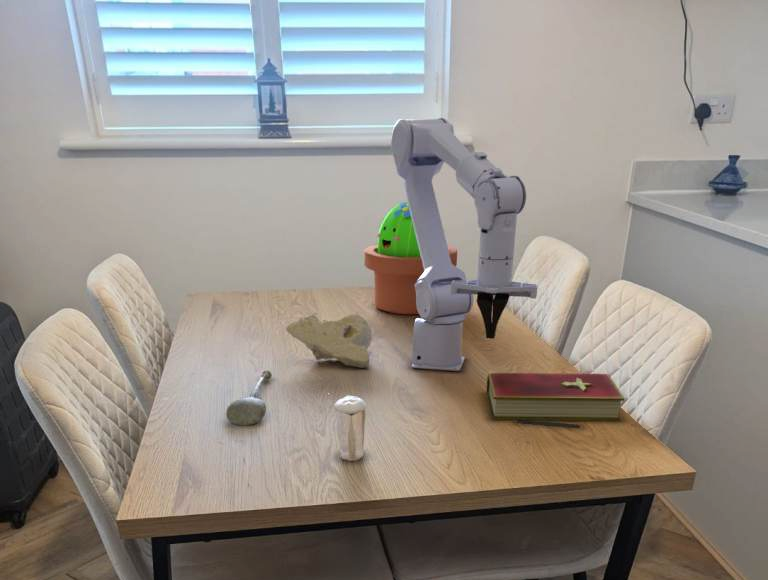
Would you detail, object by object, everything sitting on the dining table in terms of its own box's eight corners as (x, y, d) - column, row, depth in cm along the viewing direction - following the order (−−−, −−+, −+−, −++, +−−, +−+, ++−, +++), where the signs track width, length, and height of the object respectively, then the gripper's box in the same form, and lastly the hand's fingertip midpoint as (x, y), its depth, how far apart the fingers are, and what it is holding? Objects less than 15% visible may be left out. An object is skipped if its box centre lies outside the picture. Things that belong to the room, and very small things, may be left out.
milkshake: (330, 450, 108) (327, 388, 103) (366, 449, 109) (364, 386, 104) (331, 464, 105) (328, 399, 99) (368, 462, 105) (366, 398, 100)
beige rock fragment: (387, 368, 146) (352, 310, 149) (389, 351, 139) (352, 290, 142) (320, 401, 144) (286, 341, 147) (319, 385, 136) (283, 322, 140)
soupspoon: (222, 429, 117) (262, 431, 117) (220, 410, 115) (261, 412, 115) (251, 377, 136) (285, 379, 136) (249, 360, 134) (284, 362, 134)
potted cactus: (413, 291, 194) (415, 190, 181) (472, 306, 179) (477, 198, 166) (349, 304, 182) (345, 198, 169) (405, 323, 167) (406, 208, 154)
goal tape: (517, 422, 117) (517, 422, 117) (524, 384, 132) (524, 383, 132) (579, 428, 115) (579, 427, 115) (579, 388, 130) (579, 387, 130)
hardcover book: (486, 393, 129) (487, 370, 126) (604, 394, 128) (608, 371, 126) (492, 419, 118) (493, 395, 116) (620, 420, 117) (624, 396, 115)
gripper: (449, 259, 117) (446, 341, 124) (539, 263, 114) (530, 346, 121) (455, 251, 123) (452, 329, 130) (541, 254, 120) (533, 334, 127)
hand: (490, 336), depth 126 cm, fingers closed
